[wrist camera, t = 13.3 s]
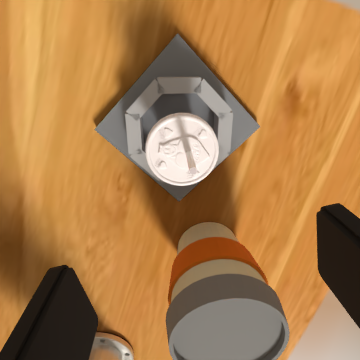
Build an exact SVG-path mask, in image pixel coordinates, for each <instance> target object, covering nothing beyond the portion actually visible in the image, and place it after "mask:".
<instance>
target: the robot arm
mask: <svg viewBox="0 0 360 360" xmlns="http://www.w3.org/2000/svg"><path fill="white" fill-rule="evenodd" d="M317 253H318V270H319V273H320V275H321V277H322V279H323V280H324V281H325V283H326V284H327V285H328V287H329V288H330V289H331V291H332V292H333V293H334V295H335V296H336V297H337V299H338V300H339V301H340V303H341V304H342V305H343V307H344V308H345V309H346V311H347V312H348V314H349V315H350V316H351V318H352V319H353V320H354V322H355V323H356V324H357V325H358V327H359V328H360V219H359V218H358V217H357V216H355V215H354V214H353V213H352V212H350V211H349V210H348V209H346V208H345V207H344V206H343V205H341V204H339V203H336V204H332V205H328V206H323V207H321V209H320V211H319V212H317ZM97 327H98V317H97V314H96V312H95V310H94V308H93V306H92V304H91V302H90V300H89V299H88V297H87V295H86V293H85V291H84V289H83V287H82V285H81V283H80V281H79V279H78V277H77V275H76V273H75V271H74V270H73V268H69V267H68V266H67V265H62V266H58V267H53V268H50V269H49V270H48V271H47V273H46V275H45V276H44V278H43V280H42V282H41V283H40V285H39V287H38V288H37V290H36V292H35V294H34V295H33V297H32V299H31V300H30V302H29V304H28V306H27V307H26V309H25V311H24V312H23V314H22V316H21V318H20V319H19V321H18V323H17V325H16V326H15V328H14V330H13V331H12V333H11V335H10V337H9V338H8V340H7V342H6V343H5V345H4V347H3V349H2V350H1V352H0V360H134V352H133V350H132V347H131V346H130V345H129V344H128V343H127V342H126V341H125V340H123V339H122V338H120V337H118V336H115V335H113V334H108V333H101V332H96V331H97Z"/></svg>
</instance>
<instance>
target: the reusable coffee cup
mask: <svg viewBox="0 0 360 360" xmlns="http://www.w3.org/2000/svg"><path fill="white" fill-rule="evenodd" d="M168 302H169V308H168V311H167V314H166V327H167V335H168V344H169V350H170V354H171V356H172V358H173V360H276V359H277V358H278V357H279V356H280V355H281V354H282V352H283V351H284V349H285V348H286V345H287V343H288V340H289V327H288V323H287V320H286V317H285V314H284V311H283V309H282V306H281V303H280V300H279V298H278V296H277V294H276V292H275V291H274V290H273V289H272V288H271V287H270V286H269V285H268V281H267V279H266V277H265V275H264V273H263V271H262V270H261V268H260V267H259V266H258V264H257V263H256V261H255V260H254V258H253V257H252V255H251V254H250V252H249V251H248V250H247V249H246V248H245V246H243V245H242V244H240V243H239V241H238V240H237V238H236V237H235V235H234V234H233V232H232V231H231V230H230V229H229V228H227V227H226V226H224V225H222V224H220V223H216V222H203V223H199V224H196V225H194V226H192V227H190V228H189V229H188V230H186V231H185V232H184V233H183V235H182V236H181V238H180V240H179V243H178V251H177V257H176V258H175V260H174V263H173V266H172V272H171V279H170V286H169V294H168Z"/></svg>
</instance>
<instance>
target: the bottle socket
mask: <svg viewBox="0 0 360 360" xmlns="http://www.w3.org/2000/svg"><path fill="white" fill-rule="evenodd" d="M175 113H190V114H193V115H196V116H199V117H200V118H202V119H203V120H205V121H206V122H207V123H208V124H209V125H210V126H211V128H212V129H213V131H214V133H215V135H216V137H217V140H218V146H219V154H218V159H217V162H216V164H215V166H214V168H213V170H214V169H215V168H216V167H217V166H218V165H219V164H220V163H221V162H223V161H224V160H225V159H226V158H227V157H228V156H229V155H230V154H231V153H232V152H233V151H234V150H236V149H237V148H238V147H239V146H240V145H241V144H242V143H243V142H244V141H245V140H246V139H247V138H249V137H250V136H251V135H252V134H253V133H254V132H255V131H256V130H257V129H258V128H259V127H260V126H259V125H258V123H257V122H256V121H255V120H254V119H253V118H252V117H251V116H250V114H249V113H248V112H247V111H246V110H245V109H244V108H243V107H242V105H241V104H240V103H239V102H238V101H237V100H236V99H235V98H234V96H233V95H232V94H231V93H230V92H229V91H228V90H227V89H226V87H225V86H224V85H223V84H222V83H221V82H220V81H219V79H218V78H217V77H216V76H215V75H214V74H213V73H212V72H211V70H210V69H209V68H208V67H207V66H206V65H205V64H204V63H203V61H202V60H201V59H200V58H199V57H198V56H197V55H196V54H195V52H194V51H193V50H192V49H191V48H190V47H189V46H188V45H187V43H186V42H185V41H184V40H183V39H182V38H181V37H180V35H179V34H177V35H176V36H175V37H174V38H173V39H172V40H171V42H170V43H169V44H168V45H167V46H166V47H165V49H164V50H163V51H162V52H161V53H160V54H159V56H158V57H157V58H156V59H155V60H154V61H153V62H152V64H151V65H150V66H149V67H148V68H147V69H146V71H145V72H144V73H143V74H142V75H141V76H140V77H139V79H138V80H137V81H136V82H135V83H134V84H133V86H132V87H131V88H130V89H129V90H128V91H127V93H126V94H125V95H124V96H123V97H122V98H121V99H120V101H119V102H118V103H117V104H116V105H115V106H114V108H113V109H112V110H111V111H110V112H109V113H108V114H107V116H106V117H105V118H104V119H103V120H102V121H101V123H100V124H99V125H98V126H97V127H96V128H95V129H94V130H96V131H97V132H98V133H99V134H100V135H101V136H103V137H104V138H105V139H106V140H107V141H109V142H110V143H111V144H112V145H113V146H114V147H116V148H117V149H118V150H119V151H120V152H121V153H123V154H124V155H125V156H126V157H127V158H129V159H130V160H131V161H132V162H133V163H134V164H136V165H137V166H138V167H139V168H140V169H141V170H143V171H144V172H145V173H146V174H147V175H149V176H150V177H151V178H152V179H153V180H154V181H156V182H157V183H158V184H159V185H160V186H162V187H163V188H164V189H165V190H166V191H167V192H169V193H170V194H171V195H172V196H173V197H174V198H176V199H177V200H178V201H180V200H181V199H182V198H184V197H185V196H186V195H187V194H188V193H189V192H190V191H191V190H192V189H193V188H194V187H195V186H197V185H198V184H199V183H200V182H201V181H202V180H203V179H202V180H201V181H199V182H197V183H194V184H191V185H185V186H178V185H172V184H169V183H166V182H164V181H163V180H161V179H160V178H158V177H157V176H156V175H155V174H154V173H153V171H152V170H151V169H150V167H149V165H148V162H147V159H146V140H147V137H148V134H149V132H150V131H151V129H152V127H153V126H154V125H155V124H156V123H157V122H158V121H159V120H160V119H162V118H164V117H166V116H168V115H170V114H175ZM213 170H212V171H213ZM212 171H211V172H212ZM211 172H210V173H211ZM210 173H209V174H210Z"/></svg>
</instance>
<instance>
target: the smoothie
mask: <svg viewBox="0 0 360 360" xmlns="http://www.w3.org/2000/svg"><path fill="white" fill-rule="evenodd" d="M218 154H219V146H218V140H217V137H216V135H215V133H214V131H213V129H212V128H211V126H210V125H209V124H208V123H207V122H206V121H205V120H203V119H202V118H200V117H199V116H196V115H193V114H190V113H175V114H170V115H168V116H166V117H164V118H162V119H160V120H159V121H158V122H157V123H156V124H155V125H154V126H153V127H152V129H151V131H150V132H149V134H148V137H147V140H146V159H147V162H148V165H149V167H150V169H151V170H152V171H153V173H154V174H155V175H156V176H157V177H158V178H160V179H161V180H163V181H164V182H166V183H169V184H172V185H178V186H185V185H191V184H194V183H197V182H199V181H201V180H202V179H204V178H205V177H206V176H207V175H208V174H209V173H210V172H211V171H212V170H213V168H214V166H215V164H216V162H217V159H218Z"/></svg>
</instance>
